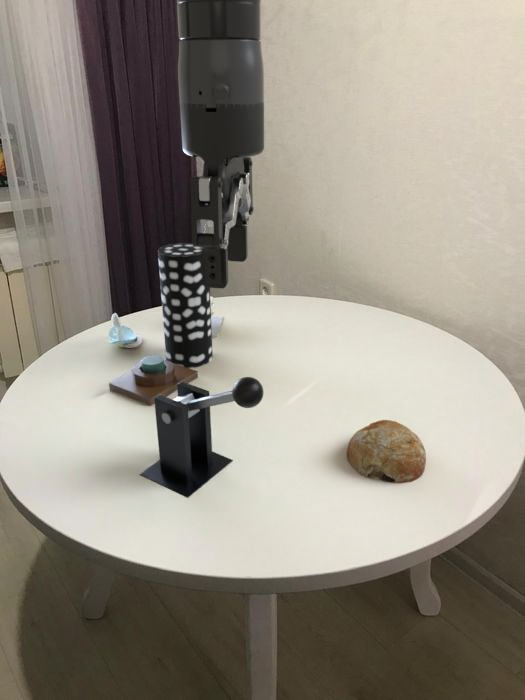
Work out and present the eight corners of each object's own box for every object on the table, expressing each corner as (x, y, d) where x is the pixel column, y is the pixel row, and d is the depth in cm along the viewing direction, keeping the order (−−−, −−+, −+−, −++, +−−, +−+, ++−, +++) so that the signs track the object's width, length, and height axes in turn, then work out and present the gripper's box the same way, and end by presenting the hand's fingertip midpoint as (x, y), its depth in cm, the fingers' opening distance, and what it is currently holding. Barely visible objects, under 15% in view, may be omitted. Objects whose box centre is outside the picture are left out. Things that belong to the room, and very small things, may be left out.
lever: (274, 397, 64) (261, 369, 64) (256, 410, 62) (243, 381, 61) (190, 415, 74) (179, 390, 73) (171, 427, 71) (160, 402, 71)
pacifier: (139, 334, 116) (108, 337, 114) (138, 304, 113) (105, 307, 111) (144, 350, 109) (111, 353, 108) (142, 318, 107) (108, 321, 105)
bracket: (233, 467, 77) (231, 388, 72) (188, 505, 70) (182, 421, 65) (186, 447, 81) (181, 371, 76) (139, 481, 74) (130, 400, 69)
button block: (151, 412, 89) (149, 389, 87) (110, 395, 94) (107, 373, 92) (198, 383, 97) (197, 361, 96) (158, 369, 102) (156, 348, 100)
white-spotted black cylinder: (158, 364, 104) (148, 254, 95) (178, 345, 111) (170, 241, 102) (202, 371, 101) (196, 258, 93) (219, 351, 109) (215, 245, 100)
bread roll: (343, 499, 76) (347, 470, 70) (346, 431, 83) (349, 399, 77) (422, 506, 75) (432, 477, 69) (418, 437, 82) (427, 404, 75)
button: (153, 377, 92) (152, 367, 91) (137, 371, 94) (136, 361, 93) (169, 368, 94) (168, 358, 94) (153, 362, 96) (152, 353, 96)
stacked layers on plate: (216, 337, 114) (215, 310, 112) (171, 335, 115) (169, 309, 112) (223, 317, 123) (222, 292, 121) (181, 316, 124) (179, 291, 122)
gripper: (203, 95, 59) (210, 251, 66) (153, 102, 47) (168, 294, 54) (276, 95, 58) (275, 255, 65) (245, 102, 45) (248, 299, 52)
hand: (227, 272), depth 59 cm, fingers open, 8 cm apart
